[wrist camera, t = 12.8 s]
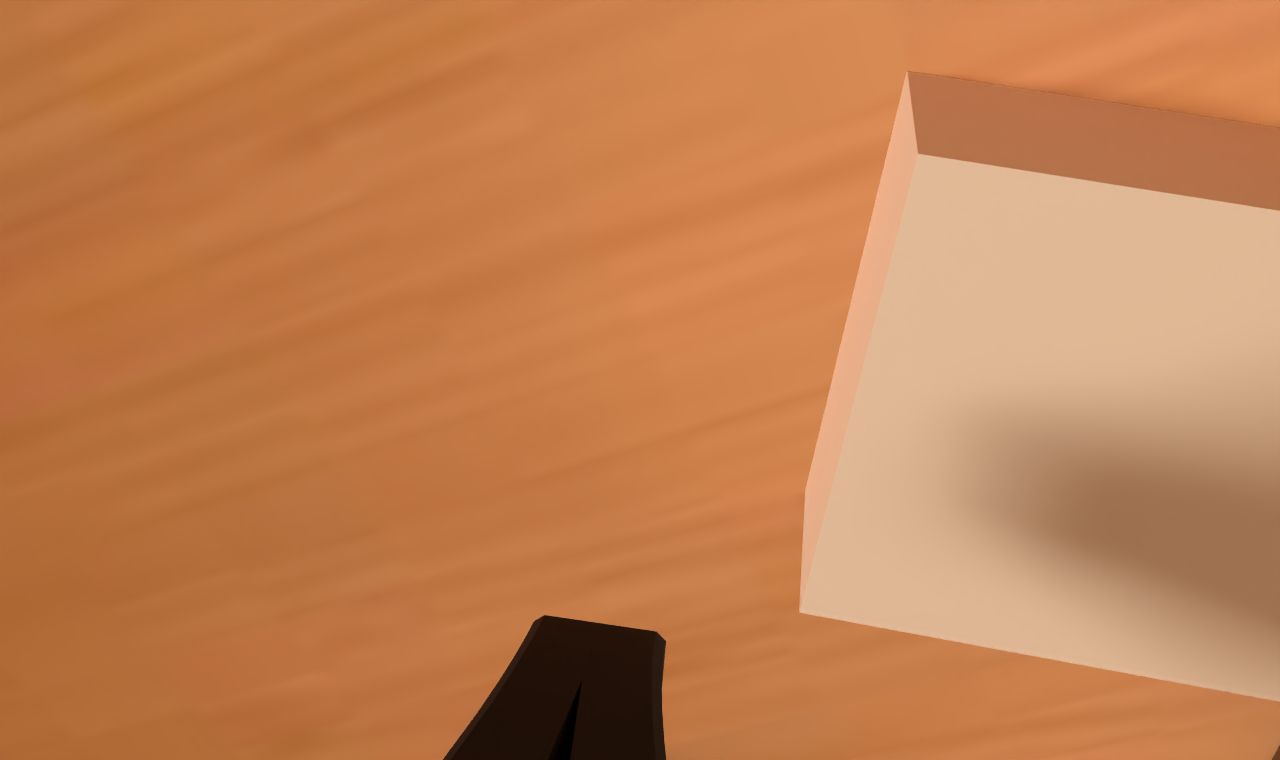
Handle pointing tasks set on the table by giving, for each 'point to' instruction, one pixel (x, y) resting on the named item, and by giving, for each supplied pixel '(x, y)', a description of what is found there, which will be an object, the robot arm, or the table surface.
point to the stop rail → (1277, 755)
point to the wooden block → (1061, 390)
